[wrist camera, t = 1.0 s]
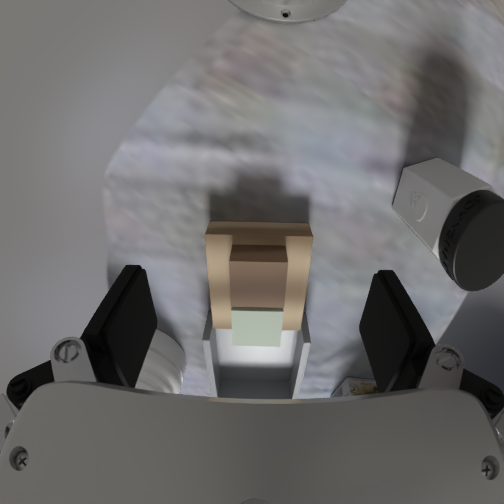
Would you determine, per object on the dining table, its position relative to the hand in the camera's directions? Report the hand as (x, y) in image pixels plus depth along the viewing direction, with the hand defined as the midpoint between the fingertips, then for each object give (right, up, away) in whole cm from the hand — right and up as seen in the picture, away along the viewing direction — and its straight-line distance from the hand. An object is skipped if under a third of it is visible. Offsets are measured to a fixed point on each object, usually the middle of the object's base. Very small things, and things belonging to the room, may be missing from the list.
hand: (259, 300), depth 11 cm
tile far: (0, -4, +20) cm, 21 cm away
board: (0, 0, +21) cm, 21 cm away
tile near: (0, 0, +18) cm, 18 cm away
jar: (+18, +8, +16) cm, 26 cm away
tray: (0, -12, +28) cm, 30 cm away
